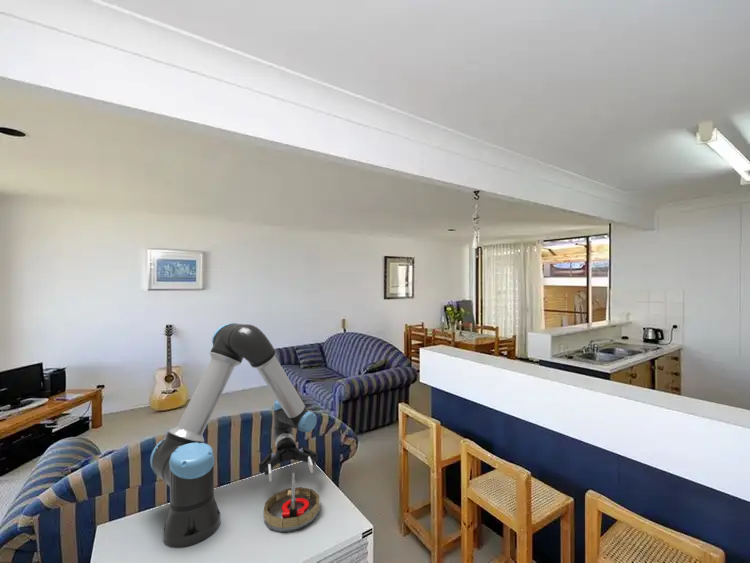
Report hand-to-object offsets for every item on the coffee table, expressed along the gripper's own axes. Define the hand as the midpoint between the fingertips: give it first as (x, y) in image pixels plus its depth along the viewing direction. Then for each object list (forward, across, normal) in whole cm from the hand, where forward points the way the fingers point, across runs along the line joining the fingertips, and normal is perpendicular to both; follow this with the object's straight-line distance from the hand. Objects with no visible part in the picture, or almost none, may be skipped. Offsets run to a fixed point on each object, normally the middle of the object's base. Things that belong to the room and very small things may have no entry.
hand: (291, 473), depth 113 cm
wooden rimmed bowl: (+5, 0, -10) cm, 11 cm away
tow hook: (+6, 0, -9) cm, 10 cm away
